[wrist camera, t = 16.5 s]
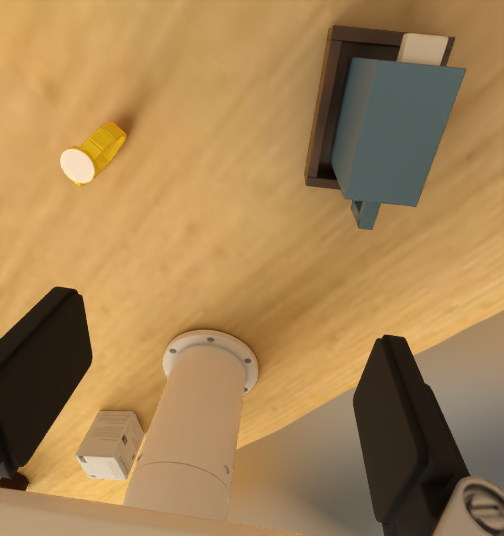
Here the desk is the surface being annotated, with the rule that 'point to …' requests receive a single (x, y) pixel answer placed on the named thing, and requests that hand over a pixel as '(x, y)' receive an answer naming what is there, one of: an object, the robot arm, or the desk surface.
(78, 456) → the white cardboard box
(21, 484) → the coffee mug
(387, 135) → the blue box with handle
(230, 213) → the desk surface
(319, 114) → the holder
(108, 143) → the watch
